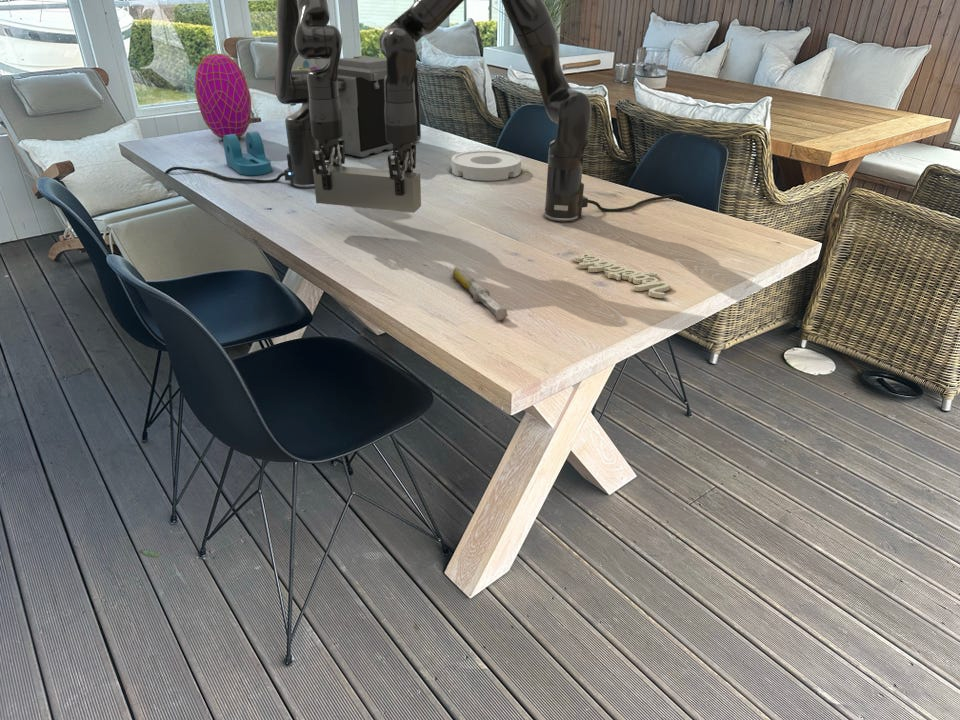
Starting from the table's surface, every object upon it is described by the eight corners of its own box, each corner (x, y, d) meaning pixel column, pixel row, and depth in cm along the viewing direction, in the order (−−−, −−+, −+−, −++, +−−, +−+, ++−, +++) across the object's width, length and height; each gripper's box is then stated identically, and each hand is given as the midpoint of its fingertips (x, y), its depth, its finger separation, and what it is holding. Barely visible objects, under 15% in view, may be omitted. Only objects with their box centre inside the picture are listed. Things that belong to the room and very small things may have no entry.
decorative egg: (221, 147, 254) (205, 59, 239) (195, 138, 265) (178, 54, 250) (266, 138, 266) (254, 54, 251) (239, 130, 277) (226, 49, 262)
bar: (316, 203, 174) (312, 170, 170) (325, 196, 179) (322, 164, 175) (414, 212, 169) (413, 178, 165) (421, 206, 174) (420, 173, 169)
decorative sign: (686, 282, 150) (660, 295, 144) (686, 286, 150) (659, 300, 144) (592, 249, 166) (565, 259, 160) (592, 253, 167) (565, 263, 161)
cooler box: (383, 133, 276) (378, 52, 261) (425, 141, 265) (422, 56, 250) (314, 150, 251) (304, 61, 235) (358, 160, 240) (350, 67, 224)
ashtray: (453, 161, 240) (453, 149, 238) (520, 162, 239) (520, 150, 237) (449, 179, 220) (449, 167, 218) (521, 181, 219) (522, 168, 217)
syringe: (449, 274, 155) (449, 263, 153) (465, 272, 156) (464, 260, 154) (490, 323, 135) (491, 310, 133) (508, 319, 136) (508, 307, 134)
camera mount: (227, 164, 233) (221, 132, 227) (257, 160, 238) (252, 129, 233) (244, 176, 220) (239, 143, 215) (276, 172, 225) (271, 139, 220)
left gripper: (324, 110, 172) (331, 177, 181) (297, 122, 160) (306, 193, 169) (352, 112, 171) (357, 179, 179) (327, 124, 159) (334, 196, 167)
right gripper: (405, 128, 155) (408, 201, 163) (425, 116, 167) (427, 185, 175) (374, 126, 156) (379, 199, 165) (396, 114, 168) (399, 182, 177)
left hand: (332, 186), depth 174 cm, fingers closed on bar, 5 cm apart
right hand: (404, 191), depth 170 cm, fingers closed on bar, 5 cm apart
